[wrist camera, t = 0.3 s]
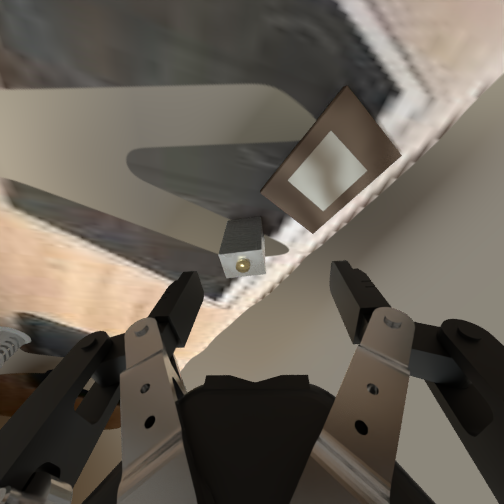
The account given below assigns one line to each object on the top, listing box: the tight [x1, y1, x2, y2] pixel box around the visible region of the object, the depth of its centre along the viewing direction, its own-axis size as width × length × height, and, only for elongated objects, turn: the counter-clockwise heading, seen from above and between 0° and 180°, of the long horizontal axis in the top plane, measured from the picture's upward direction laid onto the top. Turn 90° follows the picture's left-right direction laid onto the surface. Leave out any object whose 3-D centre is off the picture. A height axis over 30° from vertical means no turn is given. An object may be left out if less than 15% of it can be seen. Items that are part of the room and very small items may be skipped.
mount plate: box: [260, 86, 402, 234], centre depth 29 cm, size 16×12×1 cm
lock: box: [219, 216, 266, 278], centre depth 31 cm, size 4×6×11 cm
